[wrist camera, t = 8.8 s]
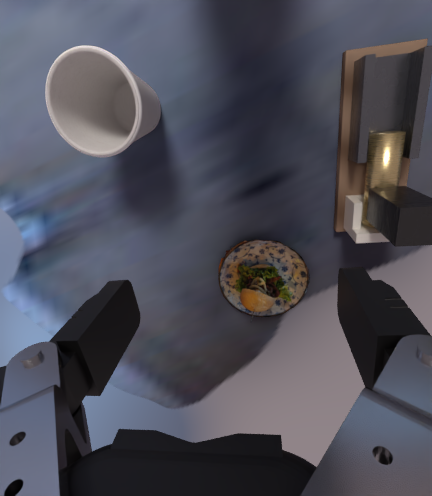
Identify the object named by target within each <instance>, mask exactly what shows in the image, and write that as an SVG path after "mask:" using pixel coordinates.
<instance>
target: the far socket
mask: <svg viewBox="0 0 432 496" xmlns="http://www.w3.org/2000/svg"><path fill="white" fill-rule="evenodd" d="M363 201H364V194H363V195H350V196H346V198H345V213H344V229H345V230H346V231H347V233H348V234H349V235H350V236H351V238H352V239H353V240H354V241H355V243H374V242H390V241H389V240H388V239H387V238H385V237H384V236H383V235H382V234H381V233H380V232H379V231H378V230H377V229H376V228H375V227H369V226H366V225H364V224H362V212H363Z"/></svg>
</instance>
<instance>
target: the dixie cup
mask: <svg viewBox="0 0 432 496" xmlns="http://www.w3.org/2000/svg"><path fill="white" fill-rule="evenodd" d="M45 94H46V103H47V108H48V112H49V115H50V117H51V120H52V122H53V124H54V126H55V128H56V129H57V131H58V132H59V134H60V135H61V136H62V137H63V138H64V139H65V141H66V142H68V143H69V144H70V145H71V146H72V147H74V148H75V149H77V150H78V151H80V152H82V153H84V154H87V155H90V156H94V157H110V156H114V155H117V154H119V153H121V152H122V151H124V150H125V149H127V148H128V147H129V146H130V145H131V143H133V142H134V141H136V140H138V139H140V138H141V137H143V136H145V135H146V134H148V133H150V132H151V131H153V130H154V129H155V127H156V126H157V124H158V123H159V120H160V116H161V105H160V101H159V99H158V96H157V94H156V93H155V91H154V90H153V89H152V88H151V87H150V86H149V85H148V84H147V83H145V82H144V81H143V80H141V79H140V78H139V77H137V76H136V75H135V74H134V73H132V72H131V71H130V70H128V68H127V67H126V66H125V65H124V64H123V63H122V62H121V61H120V60H119V59H118V58H117V57H116V56H114V55H113V54H111V53H110V52H108V51H106V50H104V49H101V48H99V47H95V46H77V47H73V48H71V49H69V50H67V51H65V52H64V53H62V54H61V55H60V56H59V57H58V58H57V59H56V60H55V62H54V63H53V65H52V67H51V69H50V71H49V73H48V77H47V81H46V90H45Z"/></svg>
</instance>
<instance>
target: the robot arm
mask: <svg viewBox="0 0 432 496" xmlns="http://www.w3.org/2000/svg"><path fill="white" fill-rule="evenodd" d="M337 303H338V304H337V307H338V316H339V320H340V324H341V326H342V329H343V331H344V334H345V336H346V338H347V341H348V344H349V346H350V348H351V352H352V354H353V357H354V359H355V362H356V364H357V367H358V369H359V372H360V375H361V377H362V380H363V382H364V385H365V388H364V389H363V390H362V392H361V393H360V395H359V397H358V398H357V400H356V402H355V404H354V405H353V407H352V408H351V410H350V412H349V414H348V415H347V417H346V419H345V421H344V422H343V424H342V425H341V427H340V429H339V431H338V432H337V434H336V436H335V437H334V439H333V441H332V443H331V444H330V446H329V448H328V449H327V451H326V453H325V454H324V456H323V458H322V460H321V461H320V463H319V465H318V466H317V467H315V466H314V465H313V464H311V463H309V462H308V461H306V460H305V459H303V458H301V457H299V456H296V455H294V454H292V453H290V452H287V451H284V450H282V444H281V443H282V442H281V435H266V434H265V435H264V434H234V435H229V436H225V437H220V438H216V439H211V440H207V441H202V442H198V443H192V442H188V441H185V440H182V439H179V438H176V437H174V436H171V435H167V434H165V433H162V432H159V431H156V430H155V431H154V430H130V429H129V430H128V429H119V430H118V432H117V434H116V437H115V439H114V441H113V443H112V444H110V445H107V446H104V447H102V448H99V449H97V450H95V451H93V452H92V449H91V443H90V437H89V431H88V425H87V419H86V414H85V408H84V405H83V403H82V400H83V399H84V397H85V396H100V395H101V393H102V392H103V390H104V388H105V386H106V385H107V383H108V381H109V379H110V377H111V376H112V374H113V372H114V370H115V368H116V367H117V365H118V363H119V361H120V359H121V358H122V356H123V354H124V352H125V350H126V349H127V347H128V345H129V343H130V341H131V340H132V338H133V336H134V334H135V332H136V331H137V329H138V327H139V324H140V311H139V308H138V304H137V301H136V297H135V294H134V291H133V287H132V284H131V282H130V281H129V280H118V281H109V282H108V283H107V284H106V285H105V286H104V287H103V288H102V289H101V291H100V292H99V293H98V294H96V295H95V296H93V297H92V298H90V299H89V300H87V301H86V302H85V303H84V304H83V305H82V306H81V307H80V308H79V309H78V311H77V312H76V313H75V314H74V315H73V316H72V319H69V320H68V321H67V323H66V324H65V325H64V326H63V327H62V328H61V329H60V330H59V331H58V332H57V333H56V335H55V336H54V337H53V338H52V339H51V340H50V341H49V342H41V343H37V344H34V345H31V346H29V347H27V348H25V349H24V350H22V351H20V352H19V353H18V354H16V355H15V356H14V357H13V358H12V359H11V360H10V361H9V363H8V364H7V366H4V367H0V496H432V336H431V335H430V334H429V333H428V332H427V330H426V329H425V328H424V326H423V325H422V324H421V322H420V321H419V320H418V318H417V317H416V316H415V315H414V313H413V312H412V311H411V309H410V308H408V306H407V304H406V303H405V302H404V300H402V299H401V297H400V295H399V294H398V293H397V291H396V290H395V289H394V288H393V287H391V286H390V285H388V284H386V283H385V282H383V281H381V280H373V281H372V279H371V278H370V276H369V275H368V273H367V272H366V271H365V269H364V268H363V267H354V268H340V269H339V274H338V302H337Z"/></svg>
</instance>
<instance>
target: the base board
mask: <svg viewBox="0 0 432 496" xmlns="http://www.w3.org/2000/svg"><path fill="white" fill-rule="evenodd" d="M425 46H427V39H422V40H415V41H409V42H402V43H395V44H388V45H381V46H374V47H368V48H361V49H354V50H347V51H345V52H344V53H343V58H342V78H341V97H340V117H339V137H338V156H337V176H336V195H335V215H334V230H335V231H336V232H345V231H346V230H345V229H344V213H345V198H346V196H350V195H363V194H364V190H365V179H366V167H367V160H366V163H356V162H353V161H351V160H349V159H348V151H349V136H350V120H351V105H352V89H353V74H354V62H355V61H356V60H358V59H360V58H361V57H363V56H365V55H369V54H376V57H383V56H390V55H397V54H404V53H411V52H413V51H416V50H418V49H420V48H423V47H425ZM409 164H410V159H408V158H404V157H402V164H401V172H400V179H399V186H406V185H407V178H408V171H409Z"/></svg>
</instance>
